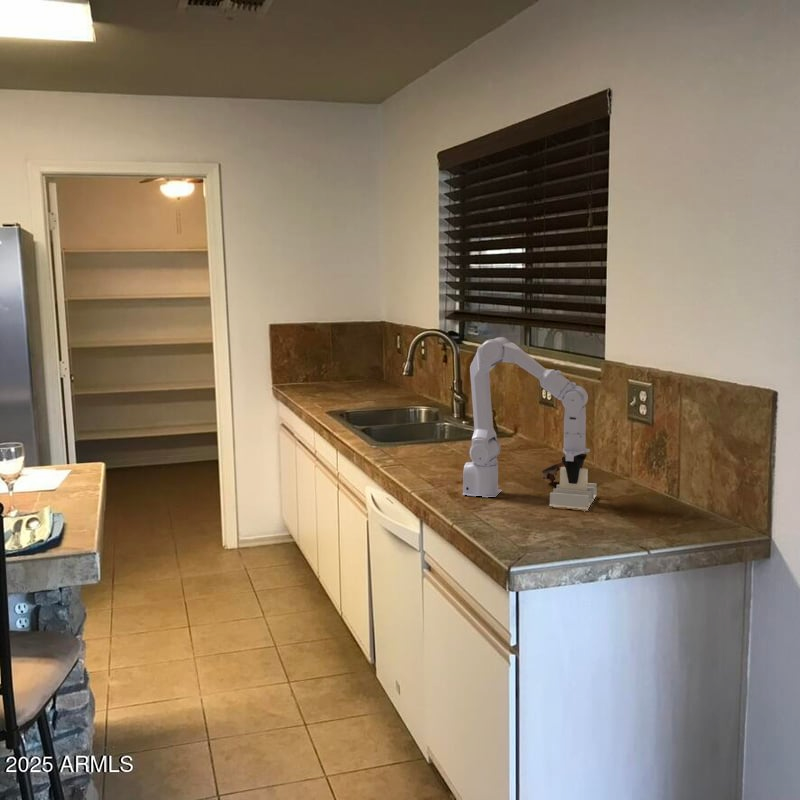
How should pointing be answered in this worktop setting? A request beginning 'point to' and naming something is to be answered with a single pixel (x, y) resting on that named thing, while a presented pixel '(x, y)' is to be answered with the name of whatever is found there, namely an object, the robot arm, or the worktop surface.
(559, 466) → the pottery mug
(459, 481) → the worktop surface
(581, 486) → the beige rectangular block
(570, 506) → the dish rack
